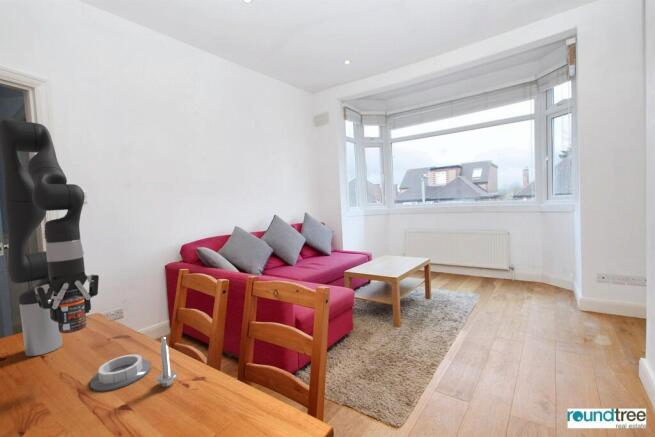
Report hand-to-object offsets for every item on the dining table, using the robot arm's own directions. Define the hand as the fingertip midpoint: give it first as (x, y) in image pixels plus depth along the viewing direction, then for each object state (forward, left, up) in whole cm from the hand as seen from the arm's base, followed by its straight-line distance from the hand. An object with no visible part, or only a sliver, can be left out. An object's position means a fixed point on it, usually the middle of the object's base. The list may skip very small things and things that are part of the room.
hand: (71, 316), depth 84 cm
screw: (+27, +9, -18) cm, 33 cm away
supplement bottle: (0, 0, -4) cm, 4 cm away
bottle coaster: (+11, +6, -17) cm, 21 cm away
